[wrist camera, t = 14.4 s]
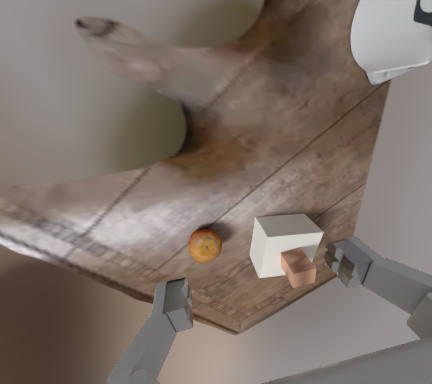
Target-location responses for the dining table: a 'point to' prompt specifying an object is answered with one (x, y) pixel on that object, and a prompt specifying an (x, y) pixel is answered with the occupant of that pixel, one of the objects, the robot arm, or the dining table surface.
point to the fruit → (205, 245)
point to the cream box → (281, 241)
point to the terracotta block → (297, 267)
